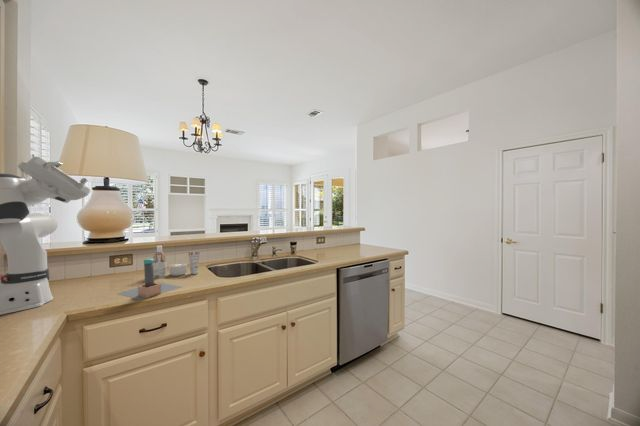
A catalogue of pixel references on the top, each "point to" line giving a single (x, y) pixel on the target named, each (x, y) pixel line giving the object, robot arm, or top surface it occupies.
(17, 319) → the top surface
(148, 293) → the pink open box
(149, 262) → the marker
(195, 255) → the cosmetic set
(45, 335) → the top surface
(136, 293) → the board
